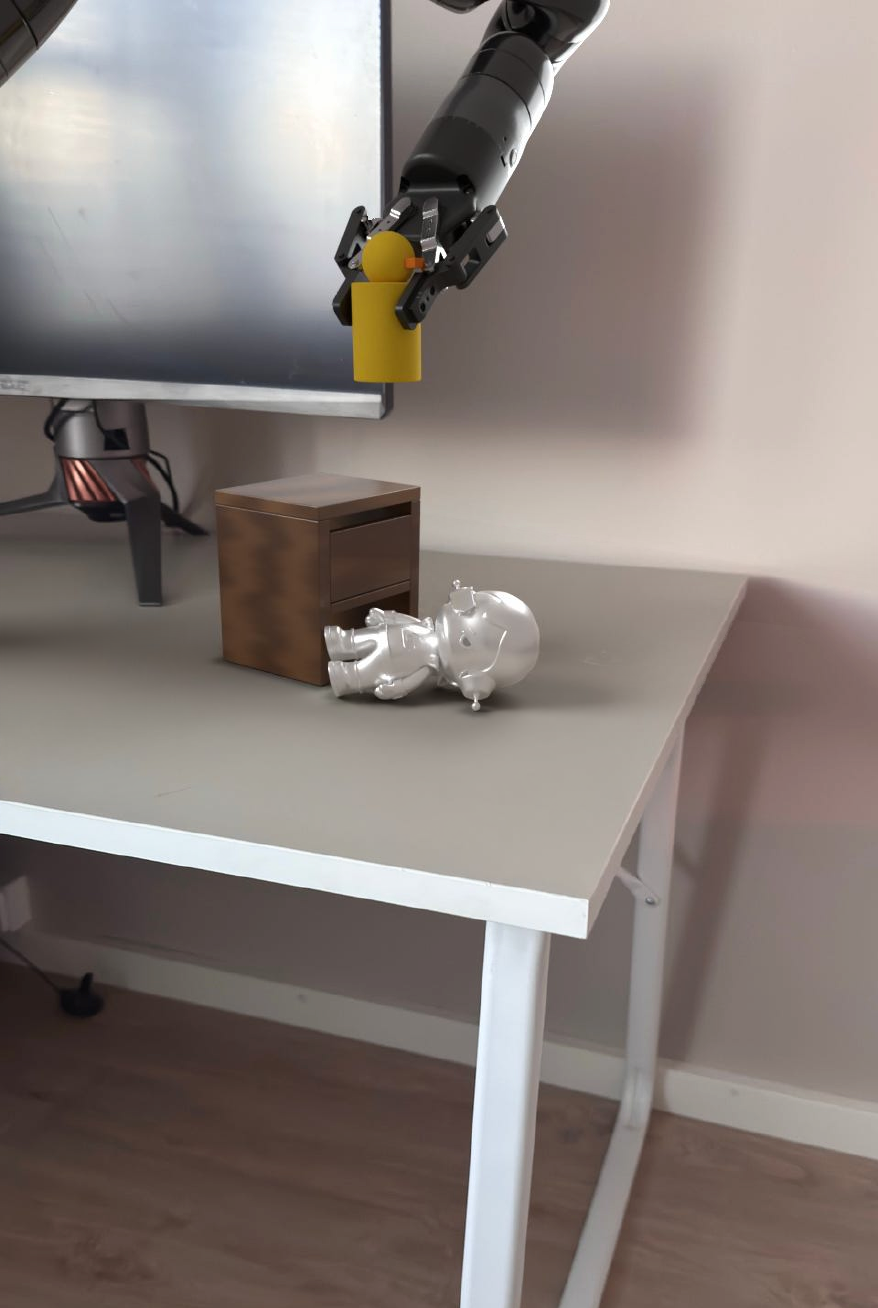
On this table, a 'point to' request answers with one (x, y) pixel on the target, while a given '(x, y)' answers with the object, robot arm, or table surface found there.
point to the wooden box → (312, 565)
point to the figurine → (438, 647)
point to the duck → (385, 313)
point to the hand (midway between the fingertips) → (372, 319)
